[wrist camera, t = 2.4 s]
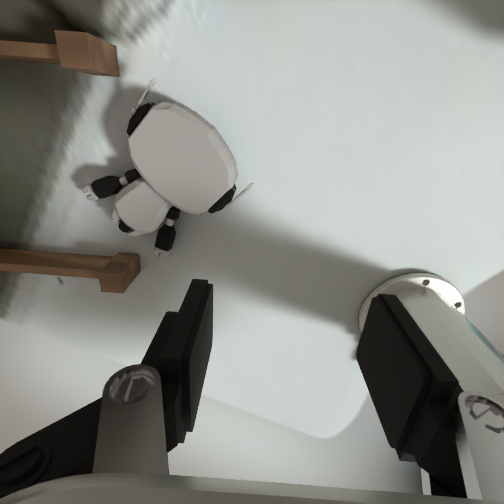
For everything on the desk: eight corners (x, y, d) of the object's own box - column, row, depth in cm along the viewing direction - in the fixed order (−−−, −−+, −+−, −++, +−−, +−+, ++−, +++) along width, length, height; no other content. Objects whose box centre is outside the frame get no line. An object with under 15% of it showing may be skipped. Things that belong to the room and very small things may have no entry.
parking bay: (140, 271, 37) (123, 293, 32) (-12, 259, 37) (-50, 279, 32) (116, 46, 27) (85, 32, 22) (-92, 30, 27) (-165, 13, 22)
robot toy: (173, 254, 37) (261, 172, 31) (160, 273, 33) (258, 183, 27) (90, 182, 33) (171, 74, 27) (64, 194, 29) (152, 70, 23)
